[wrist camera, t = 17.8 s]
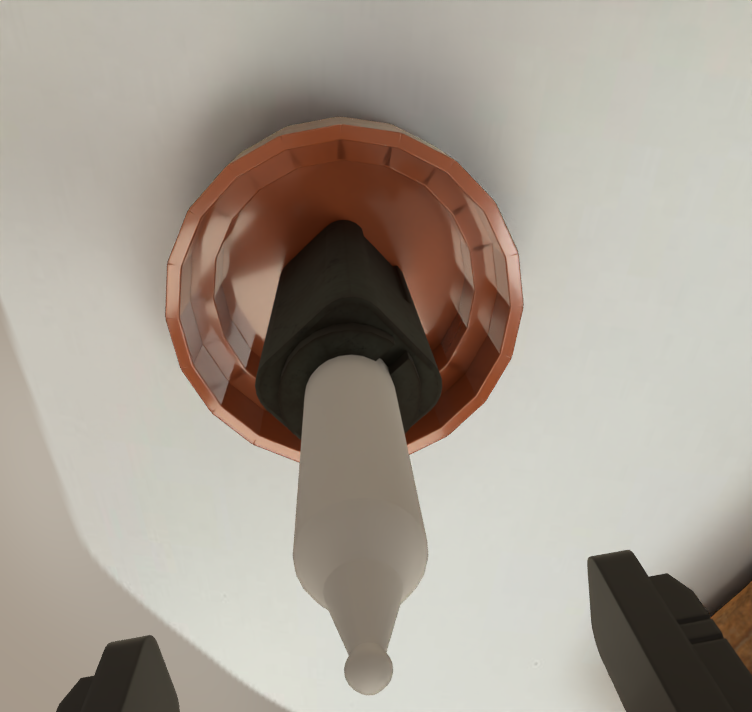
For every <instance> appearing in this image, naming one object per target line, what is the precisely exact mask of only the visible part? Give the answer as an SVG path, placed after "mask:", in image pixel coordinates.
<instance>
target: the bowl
mask: <svg viewBox="0 0 752 712" xmlns="http://www.w3.org/2000/svg"><path fill="white" fill-rule="evenodd" d="M338 220H348V221H352V222H354V223H356V224H357V225H359V226H360V227H361V228H362V230H363V234H364V237H365V238H366V239H367V240H368V241H369V242H370V243H371V244H372V245H373V246H374V247H375V248H376V249H377V250H378V251H379V252H380V253H381V254H382V255H383V256H384V258H385V259H386V260H387V261H388V262H389V263H390V264H391V265H392V266H398V267H399V268H400V269H401V271H402V272H403V275H404V278H405V281H406V283H407V286H408V289H409V291H410V294H411V297H412V299H413V302H414V305H415V308H416V310H417V313H418V316H419V318H420V321H421V324H422V326H423V329H424V332H425V335H426V337H427V340H428V343H429V345H430V348H431V351H432V353H433V356H434V359H435V362H436V364H437V367H438V370H439V372H440V375H441V378H442V392H441V396H440V398H439V400H438V402H437V404H436V405H435V406H434V407H433V408H432V409H431V410H430V411H429V412H428V413H427V414H426V415H425V416H423V417H422V418H421V419H420V420H419V421H417V422H416V423H415V424H414V425H413V426H412V427H411V428H410V429H409V430H408V431H407V433H406V434H405V438H406V443H407V448H408V453H409V455H410V454H412V453H414V452H416V451H418V450H420V449H422V448H424V447H426V446H428V445H430V444H432V443H435V442H437V441H439V440H441V439H443V438H445V437H447V435H449V434H451V433H452V432H453V431H454V430H455V429H456V428H457V427H458V426H459V425H460V424H461V423H463V422H464V421H465V420H466V419H467V418H468V417H469V416H470V415H471V414H472V413H474V412H475V411H476V410H477V409H478V408H479V407H480V406H481V405H482V404H483V403H484V402H485V401H486V400H487V398H488V397H489V395H490V393H491V392H492V390H493V388H494V387H495V385H496V383H497V382H498V380H499V378H500V377H501V375H502V373H503V371H504V370H505V368H506V366H507V365H508V363H509V361H510V360H511V357H512V355H513V350H514V346H515V342H516V337H517V333H518V329H519V324H520V320H521V316H522V311H523V305H524V304H523V293H522V283H521V273H520V262H519V254H518V250H517V248H516V246H515V244H514V242H513V239H512V237H511V235H510V233H509V231H508V228H507V226H506V224H505V222H504V220H503V217H502V215H501V213H500V211H499V209H498V206H497V204H496V203H495V201H494V200H493V199H492V198H491V197H490V196H489V195H488V194H487V193H486V192H485V191H484V189H483V188H482V187H481V186H480V185H479V184H478V183H477V182H476V181H475V180H474V179H473V178H472V177H471V176H470V175H469V174H468V173H467V172H466V171H465V170H464V168H463V167H462V166H461V165H460V164H459V163H458V162H457V161H456V160H454V159H453V158H451V157H450V156H448V155H447V154H446V153H444V152H443V151H441V150H440V149H438V148H437V147H435V146H433V145H431V144H429V143H427V142H425V141H424V140H422V139H420V138H418V137H416V136H414V135H412V134H410V133H408V132H406V131H404V130H402V129H400V128H398V127H396V126H395V125H391V124H389V123H382V122H376V121H369V120H362V119H355V118H349V117H342V116H340V117H339V116H337V117H332V118H326V119H321V120H316V121H310V122H305V123H299V124H294V125H289V126H286V127H284V128H282V129H281V130H279V131H277V132H275V133H274V134H272V135H270V136H268V137H267V138H265V139H263V140H261V141H260V142H258V143H256V144H254V145H253V146H251V147H249V148H247V149H245V150H244V151H242V152H241V153H240V154H239V155H238V156H237V157H236V158H235V159H233V160H232V161H231V162H230V163H229V164H228V165H227V166H226V167H225V168H224V169H223V170H222V171H221V173H220V174H219V175H218V176H217V177H216V178H215V179H214V181H213V182H212V183H211V184H210V185H209V186H208V187H207V189H206V190H205V191H204V192H203V193H202V194H201V196H200V197H199V198H198V199H197V200H196V201H195V202H194V204H193V205H192V206H191V207H190V208H189V210H188V211H187V214H186V216H185V219H184V221H183V224H182V226H181V229H180V231H179V234H178V237H177V239H176V242H175V244H174V247H173V249H172V252H171V254H170V257H169V259H168V263H167V280H166V307H165V317H166V322H167V326H168V329H169V332H170V335H171V339H172V342H173V345H174V349H175V352H176V355H177V358H178V362H179V365H180V368H181V370H182V372H183V373H184V375H185V376H186V377H187V379H188V380H189V382H190V383H191V384H192V386H193V387H194V389H195V390H196V392H197V393H198V394H199V396H200V397H201V399H202V400H203V402H204V403H205V404H206V406H207V407H208V409H209V410H210V411H211V412H212V414H214V415H215V416H216V417H218V418H219V419H220V420H221V421H223V422H224V423H225V424H227V425H228V426H229V427H231V428H232V429H233V430H234V431H236V432H237V433H238V434H240V435H241V436H242V437H243V438H245V439H246V440H247V441H249V442H250V443H251V444H253V445H256V446H258V447H261V448H263V449H266V450H268V451H271V452H274V453H276V454H279V455H281V456H284V457H286V458H289V459H292V460H294V461H297V462H300V452H301V440H300V439H299V438H298V437H297V436H296V435H295V434H293V433H292V432H291V431H290V430H289V429H288V428H287V427H285V426H284V425H283V424H282V423H281V422H280V421H279V420H278V419H276V418H275V417H274V416H273V415H272V414H271V413H270V412H268V411H267V410H266V409H265V408H264V406H263V405H262V404H261V403H260V401H259V399H258V397H257V395H256V389H255V381H256V375H257V371H258V366H259V362H260V358H261V354H262V350H263V345H264V341H265V337H266V333H267V329H268V324H269V320H270V316H271V312H272V308H273V303H274V299H275V295H276V291H277V287H278V282H279V278H280V274H281V272H282V270H283V268H284V267H285V266H286V265H287V264H288V263H289V262H290V261H291V260H292V259H293V258H294V257H295V256H296V255H297V254H298V253H299V252H300V251H301V250H302V249H303V248H304V247H305V246H306V245H307V244H309V243H310V242H311V241H312V240H313V239H314V238H315V237H316V236H317V235H318V234H319V233H320V232H321V231H322V230H323V229H324V228H325V227H326V226H328V225H329V224H330V223H332V222H335V221H338Z"/></svg>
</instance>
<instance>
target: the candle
mask: <svg viewBox="0 0 752 712" xmlns="http://www.w3.org/2000/svg"><path fill="white" fill-rule="evenodd" d="M255 389H256V395H257V397H258V399H259V401H260V403H261V404H262V405H263V406H264V408H265V409H266V410H267V411H268V412H270V413H271V414H272V415H273V416H274V417H275V418H276V419H278V420H279V421H280V422H281V423H282V424H283V425H284V426H285V427H287V428H288V429H289V430H290V431H291V432H292V433H293V434H295V435H296V436H297V437H298V438H299V439H300V440H301V452H300V466H299V479H298V493H297V506H296V520H295V534H294V547H293V560H294V566H295V571H296V575H297V577H298V579H299V581H300V583H301V585H302V587H303V589H304V590H305V591H306V592H307V593H308V594H309V595H310V596H311V597H312V598H313V599H314V600H315V601H316V602H317V603H319V604H320V605H321V606H322V607H324V608H326V609H327V610H328V611H329V612H330V615H331V617H332V619H333V621H334V624H335V626H336V628H337V630H338V632H339V635H340V637H341V639H342V641H343V643H344V646H345V648H346V650H347V652H348V655H349V657H348V659H347V661H346V663H345V667H344V673H345V678H346V680H347V682H348V684H349V685H350V686H351V687H352V688H353V689H354V690H355V691H357V692H359V693H361V694H363V695H374V694H377V693H379V692H380V691H382V690H383V689H384V688H385V687H386V686H387V685H388V684H389V682H390V680H391V678H392V674H393V666H392V661H391V659H390V657H389V656H388V654H387V653H386V652H387V648H388V645H389V641H390V638H391V635H392V631H393V628H394V624H395V621H396V617H397V614H398V611H399V607H400V605H401V604H402V603H403V602H404V601H405V600H406V599H407V598H408V597H409V596H410V594H411V593H412V592H413V591H414V590H415V589H416V587H417V586H418V584H419V582H420V581H421V579H422V577H423V575H424V573H425V568H426V564H427V560H428V547H427V538H426V533H425V529H424V524H423V519H422V514H421V510H420V505H419V500H418V495H417V491H416V486H415V481H414V476H413V472H412V467H411V462H410V457H409V453H408V448H407V443H406V438H405V434H406V433H407V431H408V430H409V429H410V428H411V427H412V426H413V425H414V424H415V423H416V422H417V421H419V420H420V419H421V418H422V417H423V416H425V415H426V414H427V413H428V412H429V411H430V410H431V409H432V408H433V407H434V406H435V405H436V404H437V402H438V400H439V398H440V396H441V392H442V378H441V375H440V372H439V370H438V367H437V364H436V362H435V359H434V356H433V353H432V351H431V348H430V345H429V343H428V340H427V337H426V335H425V332H424V329H423V326H422V324H421V321H420V318H419V316H418V313H417V310H416V308H415V305H414V302H413V299H412V297H411V294H410V291H409V289H408V286H407V283H406V281H405V278H404V275H403V272H402V271H401V269H400V268H399V267H398V266H392V265H391V264H390V263H389V262H388V261H387V260H386V259H385V258H384V256H383V255H382V254H381V253H380V252H379V251H378V250H377V249H376V248H375V247H374V246H373V245H372V244H371V243H370V242H369V241H368V240H367V239H366V238H365V237H364V234H363V230H362V228H361V227H360V226H359V225H357V224H356V223H354V222H352V221H348V220H338V221H335V222H332V223H330V224H329V225H328V226H326V227H325V228H324V229H323V230H322V231H321V232H320V233H319V234H318V235H317V236H316V237H315V238H314V239H313V240H312V241H311V242H310V243H309V244H307V245H306V246H305V247H304V248H303V249H302V250H301V251H300V252H299V253H298V254H297V255H296V256H295V257H294V258H293V259H292V260H291V261H290V262H289V263H288V264H287V265H286V266H285V267H284V268H283V270H282V272H281V274H280V278H279V282H278V287H277V291H276V295H275V299H274V303H273V308H272V312H271V316H270V320H269V324H268V329H267V333H266V337H265V341H264V345H263V350H262V354H261V358H260V362H259V366H258V371H257V375H256V381H255Z"/></svg>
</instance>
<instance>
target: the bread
mask: <svg viewBox="0 0 752 712" xmlns="http://www.w3.org/2000/svg"><path fill="white" fill-rule="evenodd" d="M710 619H713V620H714V622H715V623H716V625H717V626H718V628H719V629H720V630H721V632H722V633H723V637H724V638H726V639H727V640H728V642H729V643H730V645H731V646H732V647H733V649H734V650H735V652H736V653H737V655H738V656H739V657H740V659H741V660H742V662H743V663H744V664H745V666H746V667H747V669H748V670H749V672H750V673H751V674H752V581H751V582H750V583H749V584H748V585H747V586H746V587H745V588H744V589H743V590H742V591H741V592H740V593H738V594H737V595H736V596H735V597H734V598H733V599H731V600H730V601H729V602H728V603H727V604H726V605H724V606H723V607H722V608H721V609H720V610H719V611H717V612H716V613H715V614H714V615H713V616H712V617H711V618H710Z"/></svg>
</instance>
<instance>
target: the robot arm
mask: <svg viewBox="0 0 752 712" xmlns="http://www.w3.org/2000/svg"><path fill="white" fill-rule="evenodd" d="M587 567H588V581H589V596H590V610H591V623H592V629H593V634H594V638H595V642H596V645H597V648H598V651H599V654H600V656H601V659H602V661H603V663H604V665H605V667H606V669H607V672H608V674H609V676H610V678H611V680H612V682H613V684H614V687H615V689H616V691H617V693H618V695H619V697H620V699H621V702H622V704H623V706H624V708H625V710H626V712H752V674H751V673H750V672H749V670H748V669H747V667H746V666H745V664H744V663H743V662H742V660H741V659H740V657H739V656H738V655H737V653H736V652H735V650H734V649H733V647H732V646H731V645H730V643H729V642H728V640H727V639H726V638H724V637H723V633H722V632H721V630H720V629H719V628H718V626H717V625H716V623H715V622H714V620H713V619H710V616H709V613H708V612H707V611H706V609H705V608H704V606H703V605H702V603H701V602H700V601H699V599H698V598H697V596H696V595H695V593H694V592H693V591H692V590H690V589H689V588H688V587H686V586H685V585H683V584H682V583H680V582H679V581H678V580H676V579H675V578H673V577H672V576H670V575H669V574H661V575H656V576H650V577H648V575H647V574H646V572H645V570H644V569H643V567H642V566H641V564H640V563H639V561H638V559H637V558H636V556H635V555H634V553H633V552H632V551H630V550H624V551H619V552H613V553H608V554H602V555H597V556H591V557H589V558H588V562H587ZM56 712H180V710H179V702H178V698H177V694H176V691H175V689H174V686H173V683H172V681H171V678H170V675H169V673H168V670H167V667H166V665H165V662H164V660H163V657H162V654H161V652H160V649H159V646H158V644H157V641H156V640H155V638H154V637H153V636H151V635H148V636H143V637H137V638H132V639H126V640H121V641H115V642H111V643H109V644H108V645H107V646H106V647H105V650H104V652H103V654H102V657H101V660H100V662H99V665H98V667H97V670H96V673H95V675H94V676H90V677H85V678H81V679H80V680H79V681H78V682H77V684H76V685H75V686H74V687H73V688H72V689H71V691H70V692H69V693H68V694H67V696H66V697H65V698H64V699H63V700H62V702H61V703H60V704H59V706H58V708H57V711H56Z"/></svg>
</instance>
